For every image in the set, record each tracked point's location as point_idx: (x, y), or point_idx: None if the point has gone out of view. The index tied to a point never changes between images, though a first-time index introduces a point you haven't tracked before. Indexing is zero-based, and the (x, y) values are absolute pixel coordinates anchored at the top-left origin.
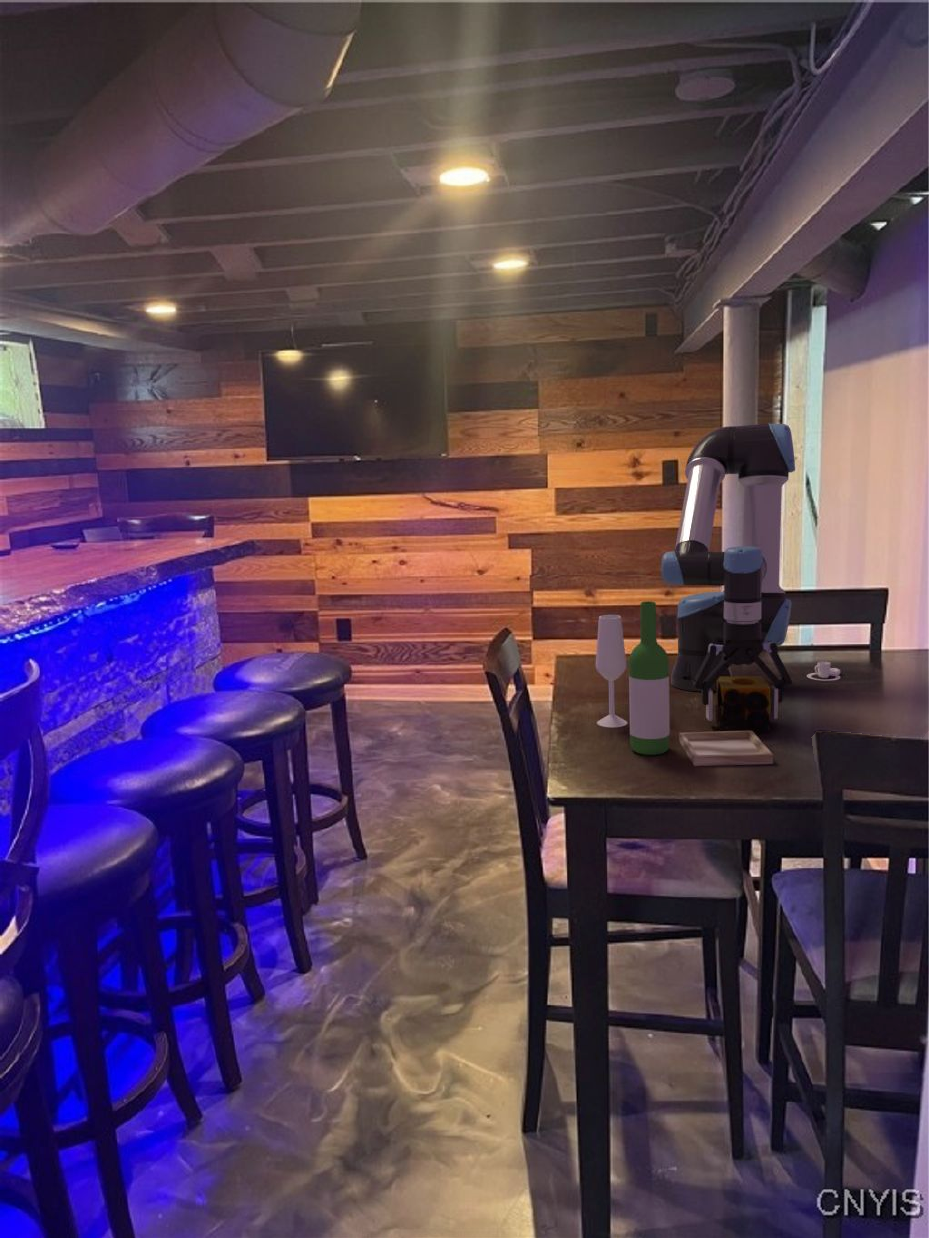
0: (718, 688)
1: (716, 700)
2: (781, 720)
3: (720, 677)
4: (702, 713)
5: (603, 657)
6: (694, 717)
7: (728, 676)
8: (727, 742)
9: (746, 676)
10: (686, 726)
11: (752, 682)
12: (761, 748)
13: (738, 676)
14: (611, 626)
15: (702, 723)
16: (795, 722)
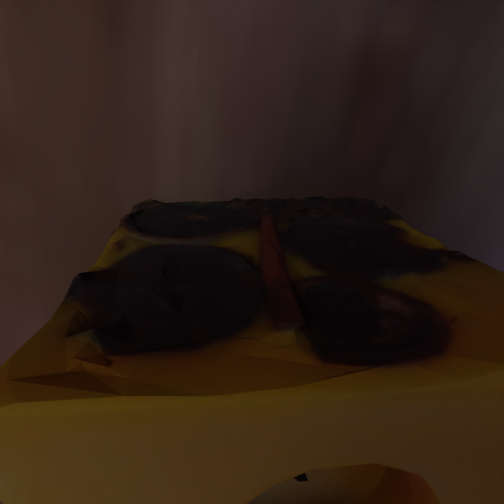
0: None
1: (106, 248)
2: (451, 212)
3: (38, 467)
4: (48, 77)
5: None
6: (13, 169)
7: (165, 406)
8: None
9: (436, 395)
10: (5, 316)
11: (418, 481)
12: None
13: (321, 404)
14: None
15: (75, 271)
16: (495, 239)
